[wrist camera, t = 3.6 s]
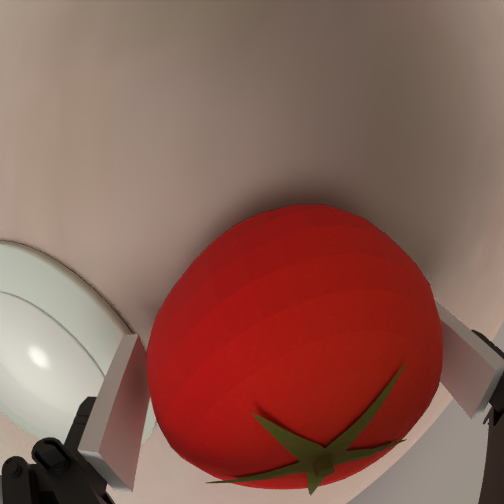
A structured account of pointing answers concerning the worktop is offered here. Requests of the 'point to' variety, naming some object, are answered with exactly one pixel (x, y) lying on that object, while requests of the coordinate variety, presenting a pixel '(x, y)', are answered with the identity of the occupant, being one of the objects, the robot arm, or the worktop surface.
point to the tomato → (294, 350)
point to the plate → (52, 342)
